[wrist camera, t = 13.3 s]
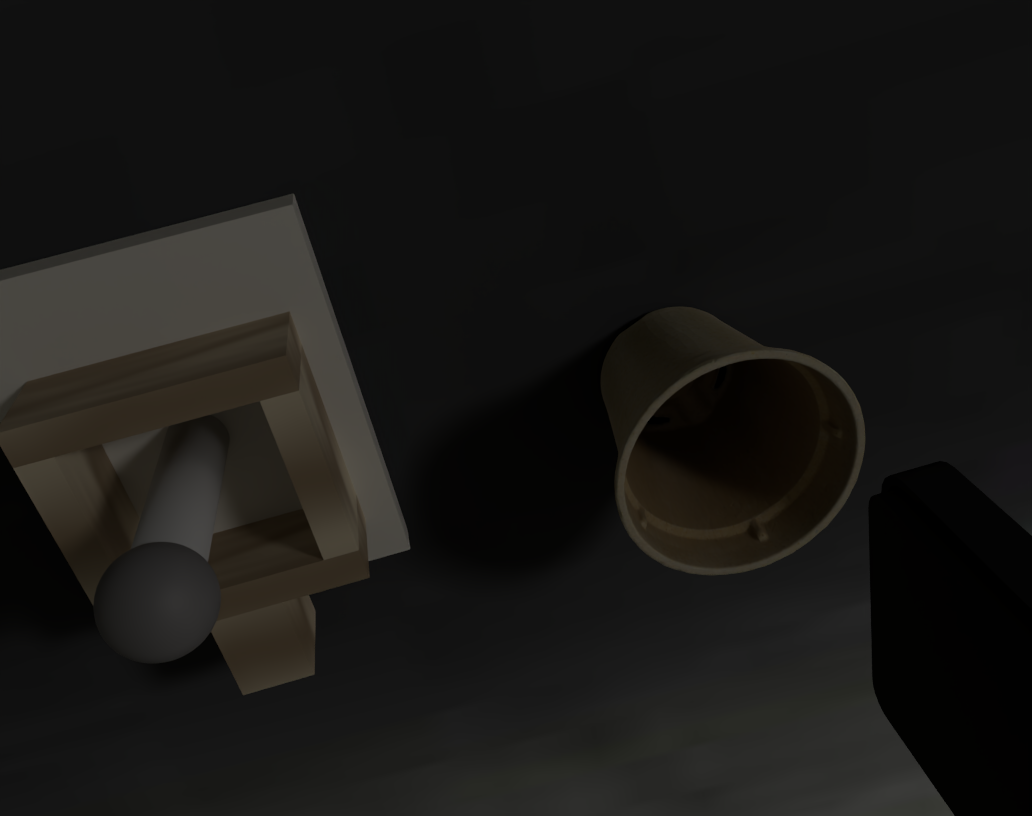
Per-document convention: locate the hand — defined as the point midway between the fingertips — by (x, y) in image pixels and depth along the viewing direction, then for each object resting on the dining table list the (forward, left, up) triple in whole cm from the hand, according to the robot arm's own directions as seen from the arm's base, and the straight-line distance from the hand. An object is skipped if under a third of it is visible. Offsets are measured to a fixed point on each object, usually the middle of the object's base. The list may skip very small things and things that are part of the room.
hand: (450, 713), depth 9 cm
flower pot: (+13, +10, -28) cm, 33 cm away
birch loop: (+12, -9, -27) cm, 31 cm away
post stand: (+10, -10, -28) cm, 31 cm away
